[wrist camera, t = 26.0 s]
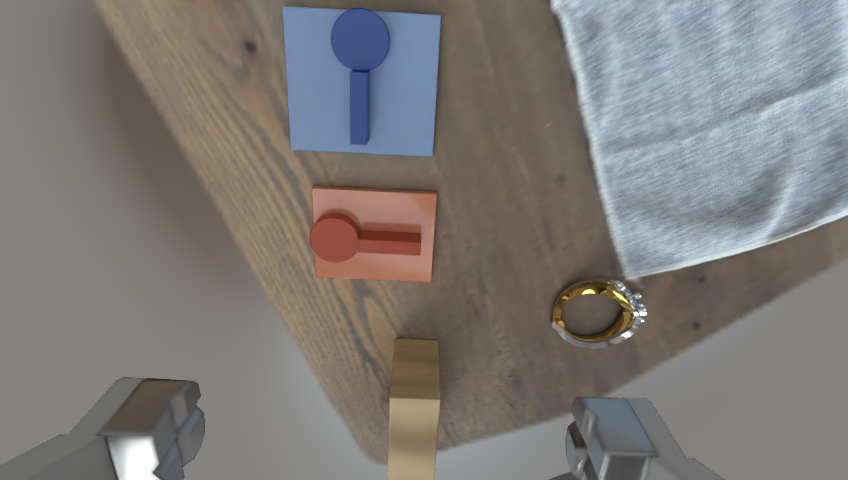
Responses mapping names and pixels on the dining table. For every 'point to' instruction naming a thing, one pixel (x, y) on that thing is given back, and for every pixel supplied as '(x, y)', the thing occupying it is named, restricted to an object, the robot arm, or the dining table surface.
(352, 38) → the blue spoon
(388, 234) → the terracotta spoon
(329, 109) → the blue tile
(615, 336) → the ring
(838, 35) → the dining table surface
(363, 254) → the terracotta tile
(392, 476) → the spoon stand
